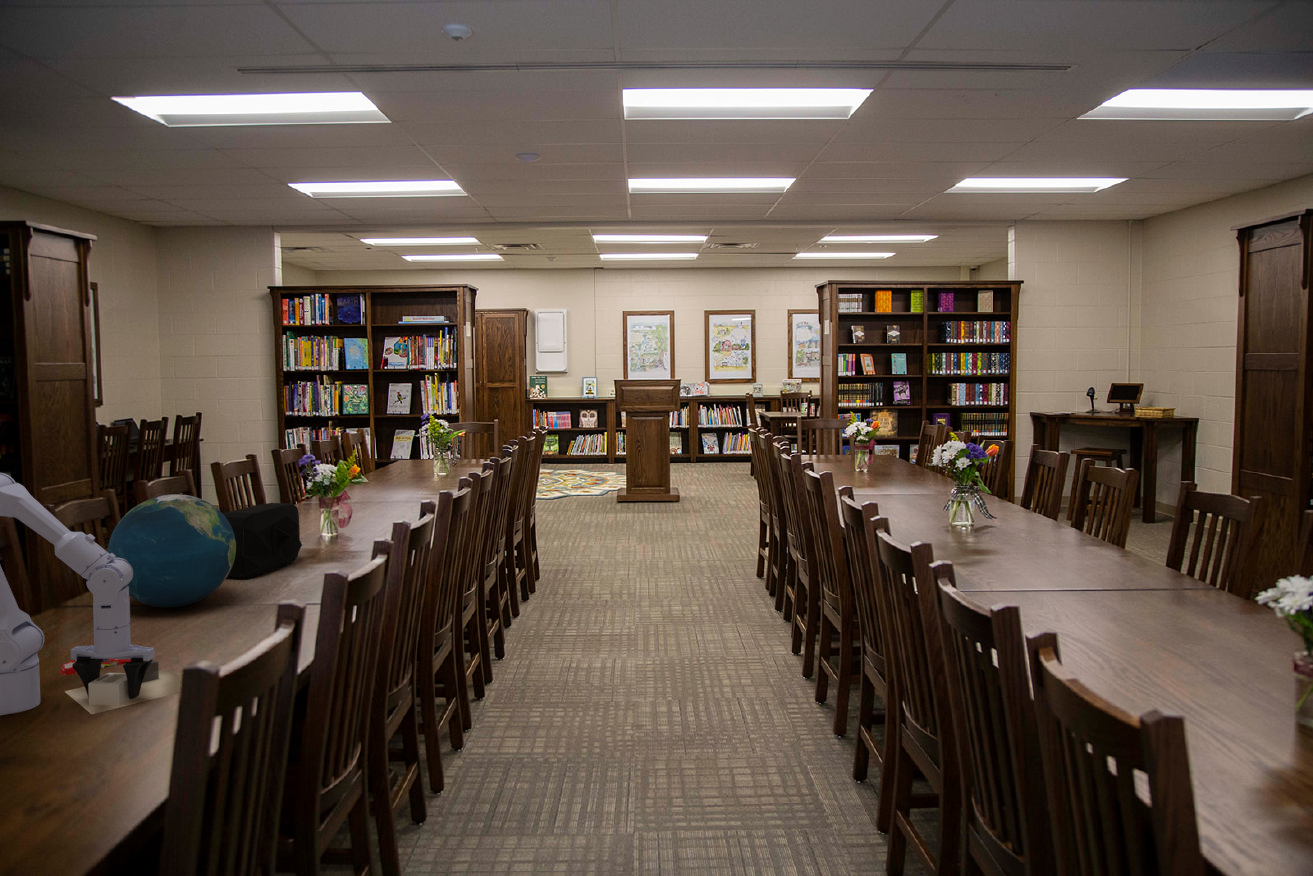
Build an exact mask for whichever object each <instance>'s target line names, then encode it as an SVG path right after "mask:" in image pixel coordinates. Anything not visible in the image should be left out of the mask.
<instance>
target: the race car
mask: <svg viewBox="0 0 1313 876" xmlns="http://www.w3.org/2000/svg"><path fill="white" fill-rule="evenodd" d="M76 660H77V659H71V661H69V662H66V663H64V664H62V665H61V667H60V670H59V673H60V674H61V675H63V676H68V675H69V676H71V675H74V674H75V675H77V672H76V671H75V670H74V669H73V667H72V664H73V663H75V662H76ZM128 662H131V659H102V663H101V668H100V669H103V668H108V667H114V666H119V665H124V664H126V663H128Z"/></svg>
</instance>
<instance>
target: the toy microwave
mask: <svg viewBox="0 0 1313 876" xmlns="http://www.w3.org/2000/svg"><path fill="white" fill-rule="evenodd" d="M88 686H89V705H121V704H122V703H124V702H126V701H127V700H129V696H128V682H127V677H126V673H125V672H108V673H105V674H103V675H100V678H98V679H96V680H94V681H92V682H90V683H88Z"/></svg>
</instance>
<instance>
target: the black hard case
mask: <svg viewBox="0 0 1313 876" xmlns="http://www.w3.org/2000/svg"><path fill="white" fill-rule="evenodd" d="M222 514H223V515H224V516H225V517H226V518H227V520H228V521H229V523H230V525H231V527H232V529H233V532H234V535H235V540H236V554H235V559H234V563H233V566H232V568H231V570H230V572H229V574H228V576H227V577H226V578H241V579H242V578H243V579H250V578H252V577H255V576H258V575H263V574H266V573H268V572H272V571H275V570H277V569H280V568H282V566H283V567H285V566H287V565H289V564H291V563H292V562H293V563H294V561H296V559H297V558H298V556H299V553H300V550H301V549H302V546H303V544H302V541H301V537H300V513H299V508H298V507H297V506H296V505H295V504H294V503H284V502H269V503H262V504H257V505H253V506H248V507H247V506H246V507H244V508H243V507H242V508H239V509H235V510H231V511H227V512H225V513H222ZM284 565H285V566H284ZM276 568H277V569H276ZM274 569H275V570H274ZM271 570H272V571H271ZM265 572H266V573H265ZM262 573H263V574H262Z"/></svg>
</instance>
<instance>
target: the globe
mask: <svg viewBox="0 0 1313 876" xmlns="http://www.w3.org/2000/svg"><path fill="white" fill-rule="evenodd" d="M223 514H224V513H223V512H222V511H220V510H219V509H218V508H217V507H216V506H215V505H213V504H211V503H210V502H208V501H206V500H204V499H202V498H199V497H196V496H192V495H187V494H177V493H176V494H164V495H160V496H159V495H158V496H157V497H156V496H155V497H152V498H150V499H147V500H145V501H143V502H140V503H139V504H137V505H136V506H134V507H133V508H131V509H130V510H129V511H128V512H127V513H125V515H123V516H122V517H121V519H120V520H119V521H118V523H117V524H116V526H115V527H114V529H113V530H112V533H111V536H110V538H109V542H108V544H107V545H108V547H107V552H108V553H109V554H111V553H113V554H114V555H115V556H116V557H115V558H122V559H125V560H127V562H128V563H129V564H130V565H131V567H132V569H133V577H132V580H131V581H130V582H129V584H128V585H126V586H125V587H127V586H129V598H132V599H133V600H136V601H137V602H140V603H141V604H144V605H147V606H151V607H156V608H164V609H166V608H167V609H170V608H172V609H173V608H179V607H186V606H188V605H191V604H195V603H197V602H199V601H202V600H203V599H205V598H207V597H208V596H210V595H211V594H212V593H214V592H215V591H216V590H217V589H218V588H220V586H221V585H222V584H223V583H224V581H225V580H226V578H228V577H227V576H228V574H229V572H230V570H231V568H232V566H233V563H234V559H235V554H236V540H235V535H234V532H233V529H232V527H231V525H230V523H229V521H228V520H227V518H226V517H225V516H224V515H223ZM125 587H124V588H125Z"/></svg>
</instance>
